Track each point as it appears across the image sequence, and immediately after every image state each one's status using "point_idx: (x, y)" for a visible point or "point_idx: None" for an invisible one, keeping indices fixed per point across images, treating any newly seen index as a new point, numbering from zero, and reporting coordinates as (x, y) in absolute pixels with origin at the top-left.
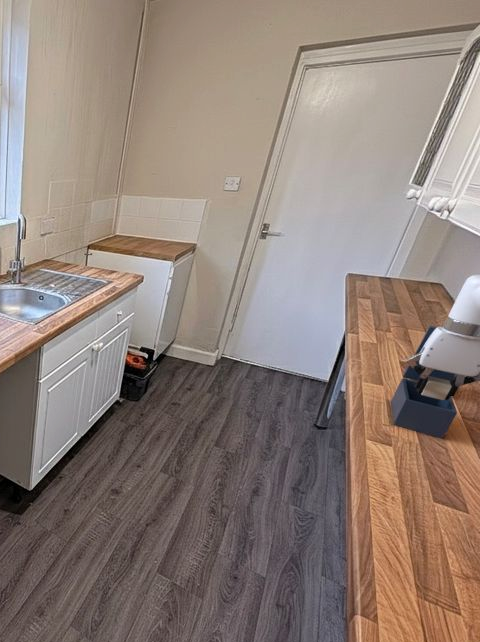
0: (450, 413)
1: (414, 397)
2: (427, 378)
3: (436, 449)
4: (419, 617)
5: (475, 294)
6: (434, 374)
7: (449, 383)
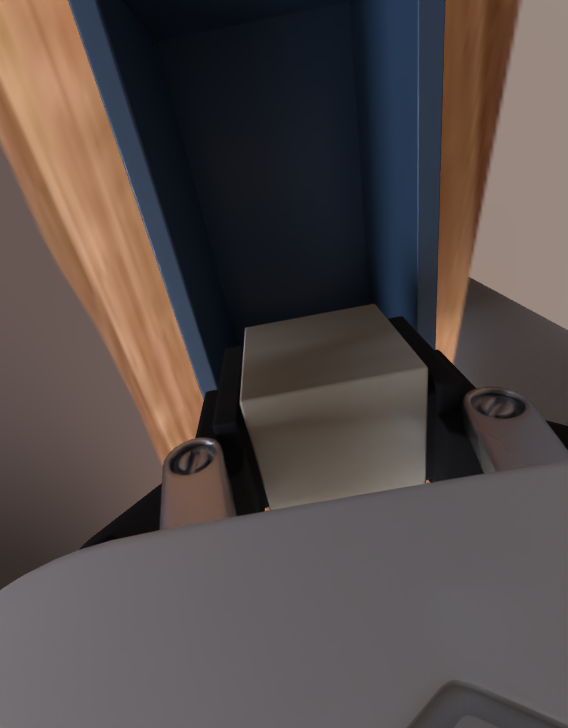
0: None
1: (231, 2)
2: (258, 502)
3: None
4: None
5: None
6: None
7: (418, 449)
